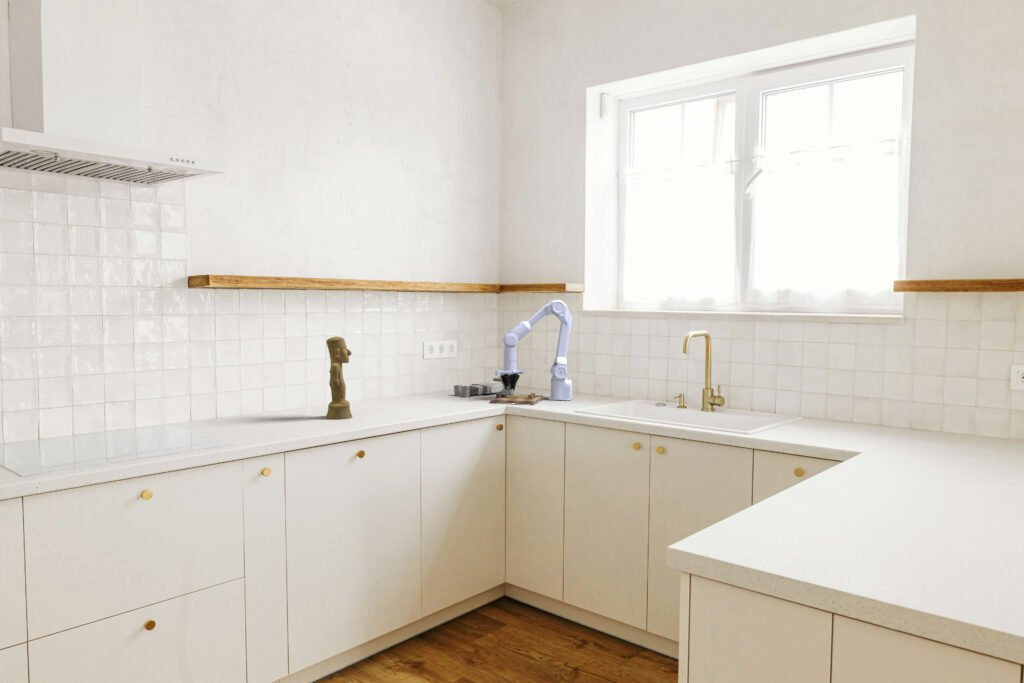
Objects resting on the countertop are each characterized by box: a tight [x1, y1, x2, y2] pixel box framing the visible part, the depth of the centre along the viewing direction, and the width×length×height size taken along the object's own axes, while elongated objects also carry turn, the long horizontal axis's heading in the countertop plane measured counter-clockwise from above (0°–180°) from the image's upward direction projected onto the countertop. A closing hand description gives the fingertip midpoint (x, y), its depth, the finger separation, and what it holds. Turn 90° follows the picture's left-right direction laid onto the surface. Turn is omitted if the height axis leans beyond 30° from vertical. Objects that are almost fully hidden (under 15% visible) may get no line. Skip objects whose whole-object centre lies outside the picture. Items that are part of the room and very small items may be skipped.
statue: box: [325, 336, 353, 420], centre depth 273 cm, size 11×10×30 cm
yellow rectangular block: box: [506, 394, 528, 398], centre depth 322 cm, size 11×3×1 cm, turn 77°
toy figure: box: [453, 376, 505, 398], centre depth 346 cm, size 11×7×30 cm
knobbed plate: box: [502, 387, 514, 395], centre depth 322 cm, size 4×4×3 cm
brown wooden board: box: [489, 391, 544, 406], centre depth 322 cm, size 19×20×3 cm
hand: (509, 391), depth 327 cm, fingers open, 2 cm apart
